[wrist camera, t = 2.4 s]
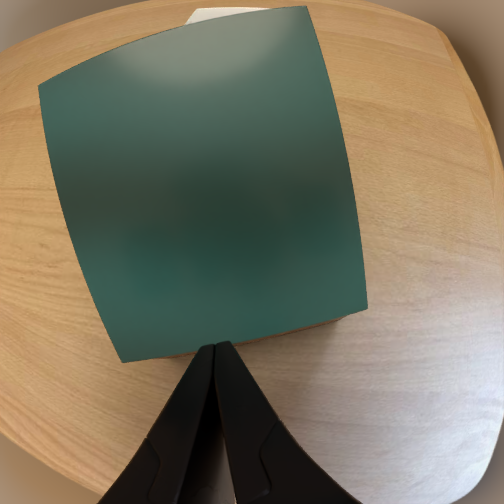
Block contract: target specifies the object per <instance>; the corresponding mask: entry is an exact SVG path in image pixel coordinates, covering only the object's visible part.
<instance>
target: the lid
mask: <svg viewBox="0 0 504 504" xmlns="http://www.w3.org/2000/svg"><path fill="white" fill-rule="evenodd" d="M38 90H39V98H40V106H41V113H42V120H43V126H44V132H45V138H46V143H47V149H48V154H49V158H50V163H51V168H52V172H53V176H54V181H55V185H56V189H57V193H58V196H59V200H60V204H61V208H62V211H63V215H64V218H65V221H66V225H67V228H68V231H69V234H70V238H71V241H72V244H73V247H74V250H75V253H76V256H77V258H78V261H79V264H80V267H81V270H82V272H83V275H84V278H85V280H86V283H87V285H88V288H89V291H90V293H91V296H92V298H93V300H94V303H95V305H96V308H97V310H98V312H99V315H100V317H101V319H102V322H103V324H104V326H105V328H106V330H107V333H108V335H109V337H110V339H111V341H112V343H113V345H114V347H115V350H116V352H117V354H118V356H119V358H120V360H121V362H122V363H127V362H134V361H141V360H148V359H154V358H160V357H166V356H172V355H178V354H184V353H189V352H195V351H198V350H199V348H200V347H201V346H203V345H208V344H215V345H216V344H217V343H218V342H223V341H228V340H229V341H231V343H232V344H235V343H240V342H244V341H249V340H253V339H258V338H262V337H266V336H270V335H275V334H279V333H283V332H287V331H291V330H295V329H299V328H303V327H306V326H310V325H314V324H318V323H321V322H325V321H329V320H332V319H336V318H339V317H343V316H346V315H350V314H353V313H356V312H360V311H363V310H366V309H368V304H367V291H366V280H365V270H364V261H363V252H362V244H361V236H360V229H359V222H358V215H357V208H356V202H355V196H354V190H353V184H352V178H351V173H350V167H349V162H348V157H347V152H346V147H345V142H344V138H343V133H342V128H341V124H340V120H339V115H338V111H337V107H336V103H335V99H334V95H333V91H332V87H331V84H330V80H329V76H328V73H327V69H326V65H325V62H324V59H323V55H322V52H321V49H320V45H319V42H318V39H317V36H316V33H315V29H314V26H313V23H312V20H311V18H310V15H309V12H308V9H307V6H294V7H283V8H274V9H265V10H258V11H251V12H245V13H239V14H233V15H228V16H223V17H218V18H213V19H209V20H204V21H200V22H196V23H192V24H188V25H184V26H180V27H177V28H173V29H170V30H166V31H163V32H160V33H157V34H154V35H150V36H147V37H144V38H142V39H139V40H136V41H133V42H130V43H128V44H125V45H122V46H120V47H117V48H115V49H112V50H110V51H107V52H105V53H102V54H100V55H98V56H95V57H93V58H91V59H89V60H86V61H84V62H82V63H80V64H78V65H76V66H74V67H72V68H70V69H68V70H66V71H64V72H62V73H60V74H58V75H56V76H54V77H52V78H50V79H49V80H47V81H45V82H43V83H41V84H40V85H38Z"/></svg>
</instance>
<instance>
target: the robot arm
mask: <svg viewBox="0 0 504 504" xmlns="http://www.w3.org/2000/svg"><path fill="white" fill-rule="evenodd" d="M146 437H147V438H145V439H144V440H143V442H142V444H141V445H140V447H139V449H138V450H137V452H136V453H135V455H134V456H133V458H132V459H131V461H130V462H129V464H128V465H127V466H126V468H125V469H124V470H123V472H122V473H121V474H120V476H119V477H118V478H117V480H116V481H115V482H114V483H113V485H112V486H111V487H110V488H109V490H108V491H107V492H106V493H105V495H104V496H103V497H102V498H101V499H100V501H99V502H98V503H97V504H235V497H236V502H237V504H363V503H361V502H360V501H358V500H357V499H356V498H354V497H353V496H352V495H350V494H349V493H348V492H347V491H346V490H344V489H343V488H342V487H341V486H340V485H339V484H338V483H337V482H336V481H335V480H334V479H333V478H331V477H330V476H329V475H328V474H327V473H326V472H325V471H324V470H323V469H322V468H321V467H320V466H319V465H318V464H317V463H316V462H315V461H314V460H313V459H312V458H311V457H310V456H309V455H308V454H307V453H306V452H305V451H304V450H303V448H302V447H301V446H300V445H299V444H298V443H297V441H296V440H295V439H294V437H293V436H292V435H291V433H290V432H289V431H288V429H287V428H286V426H285V425H284V423H283V422H282V421H281V420H280V418H279V416H278V415H277V413H276V412H275V410H274V409H273V407H272V406H271V404H270V403H269V401H268V400H267V398H266V397H265V395H264V394H263V392H262V391H261V389H260V388H259V386H258V384H257V383H256V381H255V380H254V378H253V377H252V375H251V373H250V372H249V370H248V369H247V367H246V366H245V364H244V362H243V361H242V359H241V357H240V356H239V354H238V353H237V351H236V349H235V348H234V346H233V344H232V343H231V341H229V340H228V341H223V342H218V343H217V344H216V345H215V344H208V345H203V346H201V347H200V348H199V350H198V352H197V353H196V355H195V357H194V358H193V360H192V362H191V363H190V365H189V366H188V368H187V370H186V371H185V373H184V375H183V376H182V378H181V380H180V381H179V383H178V385H177V386H176V388H175V390H174V391H173V393H172V395H171V396H170V398H169V400H168V401H167V403H166V404H165V406H164V408H163V409H162V411H161V413H160V414H159V416H158V418H157V419H156V421H155V423H154V424H153V426H152V427H151V429H150V431H149V432H148V434H147V436H146ZM234 493H235V495H234Z"/></svg>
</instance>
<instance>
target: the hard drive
mask: <svg viewBox="0 0 504 504" xmlns="http://www.w3.org/2000/svg"><path fill="white" fill-rule="evenodd" d="M265 9H270V8H245V7H227V8H199V9H196V10H195V12H194V13H193V14H192V15H191V17H190V18H189V20H188V21H187V22H186V24H185V25H188V24H192V23H196V22H200V21H204V20H209V19H213V18H218V17H223V16H228V15H233V14H239V13H245V12H251V11H258V10H265Z"/></svg>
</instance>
